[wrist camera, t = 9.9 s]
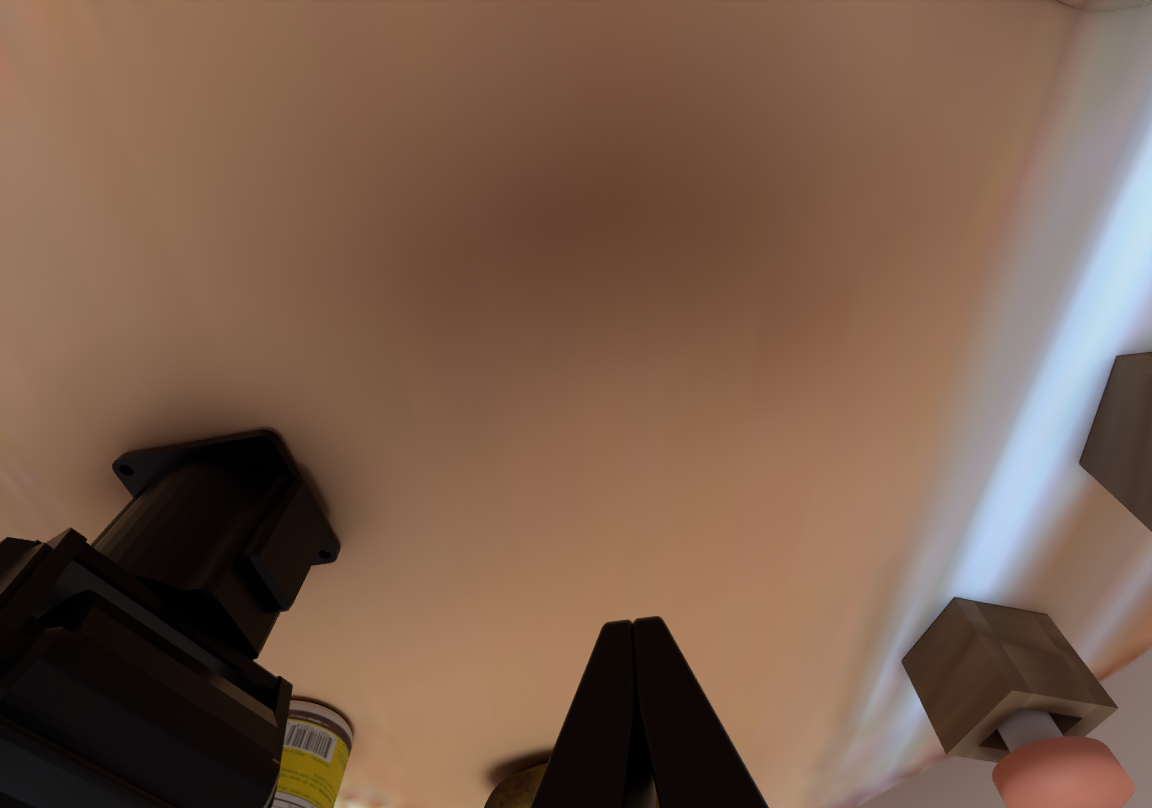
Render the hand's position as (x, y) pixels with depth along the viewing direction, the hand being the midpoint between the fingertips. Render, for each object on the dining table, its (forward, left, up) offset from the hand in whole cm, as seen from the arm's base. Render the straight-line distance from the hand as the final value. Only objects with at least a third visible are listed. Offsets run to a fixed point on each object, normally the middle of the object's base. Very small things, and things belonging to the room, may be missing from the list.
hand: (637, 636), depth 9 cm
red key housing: (+13, -20, -13) cm, 27 cm away
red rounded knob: (+13, -20, -11) cm, 27 cm away
